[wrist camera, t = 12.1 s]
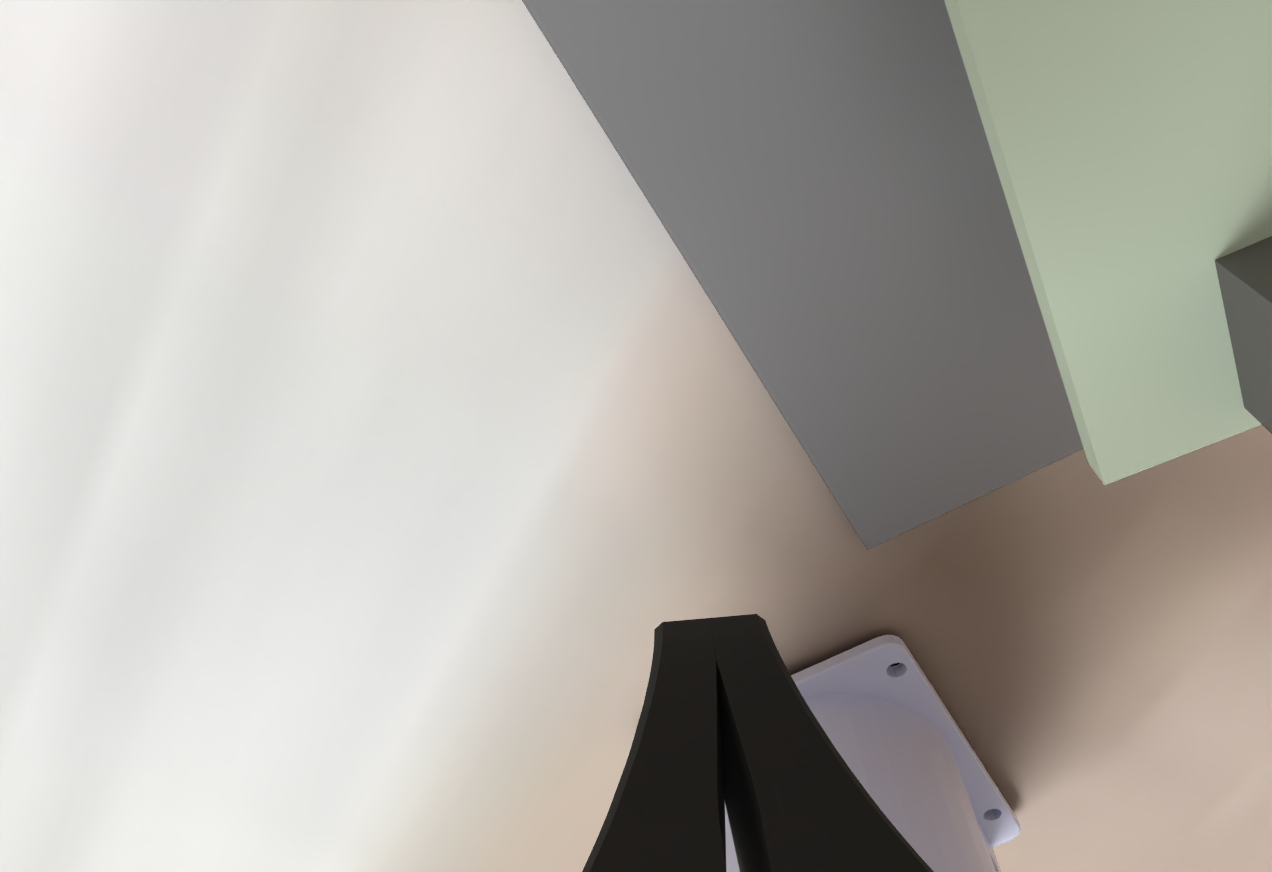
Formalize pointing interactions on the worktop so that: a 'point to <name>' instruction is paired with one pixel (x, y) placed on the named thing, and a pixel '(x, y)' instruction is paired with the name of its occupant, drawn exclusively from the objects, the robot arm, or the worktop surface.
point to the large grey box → (838, 231)
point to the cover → (1138, 207)
